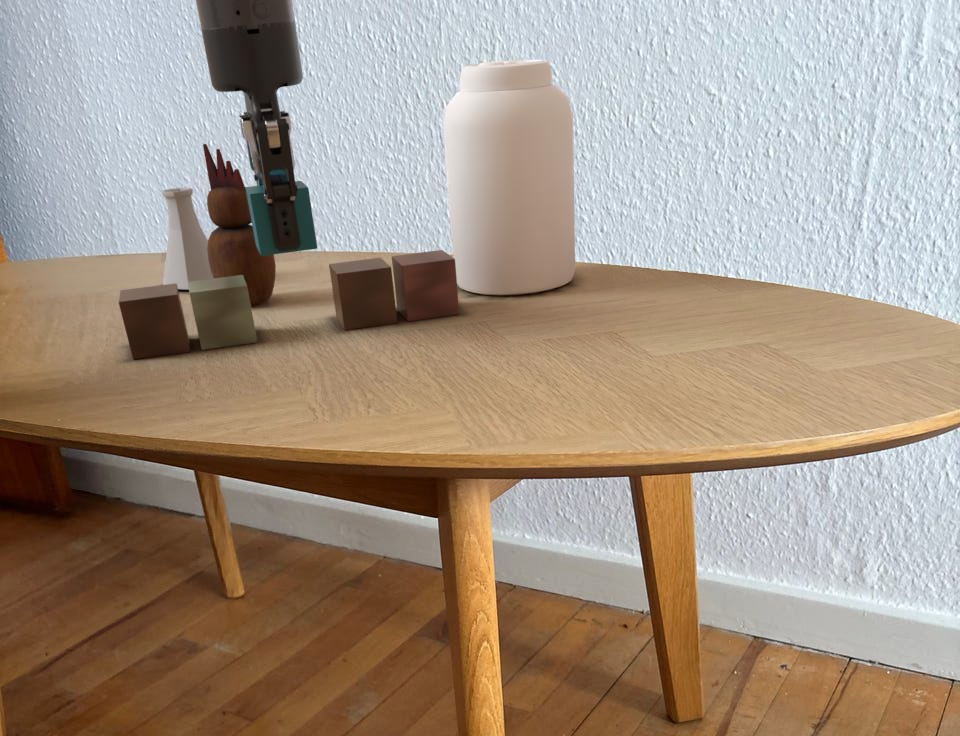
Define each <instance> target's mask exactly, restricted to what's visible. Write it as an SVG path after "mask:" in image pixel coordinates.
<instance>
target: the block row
mask: <svg viewBox="0 0 960 736" xmlns="http://www.w3.org/2000/svg"><path fill="white" fill-rule="evenodd" d="M391 263H392V264H391V265H392V266H391V265H389V264H388V262H386V261H385V260H384V259H383V258H382V257H375V258H365V259H360V260H359V259H357V260H350V261H342V262H335V263H329V264H328V267H329V274H330V281H331V289H332V295H333V302H334V303H333V304H334V309H335V317H336V319H337V321H338V323H339V324H340V325H341V326H342V329H344V331H349V330H355V329H363V328H371V327H377V326H378V327H379V326H384V325H391V324H397V323H398V315H397V311H398V312H399V313H400V314H401V316H402V317H404V319H405V320H406V321H407V322H413V321H420V320H427V319H429V320H430V319H435V318H442V317H450V316H457V315H460V309H459V308H460V306H459V305H460V304H459V291H458V284H457V278H456V265H455V259H454V258H453V256H451V255H450V254H448V253H447V252H446V251H444V250H443V249H438V250H431V251H422V252H414V253H406V254H397V255H392V256H391ZM188 286H189V289H188V293H189V298H190V302H191V307H192V313H193V317H194V322H195V326H196V330H197V335H198V339H199V343H200V348H201V350H202V351H206V350H214V349H219V348H226V347H233V346H235V347H236V346H241V345H248V344H255V343H256V344H257V343H258V337H257V332H256V326H255V322H254V321H255V320H254V315H253V311H252V310H253V309H252V306H251V304H250V299H249V293H248V288H247V284H246V282H245V279H244V276H243V275H238V276H230V277H222V278H214V279H206V280H198V281H190V282H188ZM118 306H119V309H120V314H121V318H122V321H123V325H124V330H125V334H126V338H127V342H128V345H129V350H130V353H131V357H132V360H140V359H148V358H155V357H163V356H169V355H176V354H182V353H190V352H191V347H190V345H191V344H190V338H189V333H188V328H187V323H186V319H185V313H184V310H183V309H184V308H183V306H182V300H181V296H180V292H179V289H178V287H177V283H174V284H167V285H163V284H160V285H151V286H144V287H135V288H127V289H120V291H119V297H118Z"/></svg>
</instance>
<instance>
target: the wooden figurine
mask: <svg viewBox="0 0 960 736" xmlns="http://www.w3.org/2000/svg"><path fill="white" fill-rule="evenodd" d="M202 147H203V154H204V159H205V165H206V172H207V177H208V183H209V189H210V190H209V191H208V193H207V197H206V206H207V213H208V215H209V219H210V221H211V222H212V224H214V225H215V226H216V228H215V229H214V230H212V231H211V232H210V235H209V238H207V240H208V248H207V251H208V260H209V265H210V269H211V272H212V275H213V278H222V277H230V276H238V275H243V276H244V279H245V282H246V284H247V288H248V293H249V299H250V304H251V307H254V306H259V305H261V304H263V303H265V302H267V301H268V300H269V299H270V298H271V297H272V296H273V293H274V288H275V283H276V282H275V281H276V273H277V272H276V270H277V269H276V267H277V266H276V260H275V254H273V255H265V256H261V255H260V253H259V251H258V249H257V247H256V243H255V237H254V232H253V226H252V221H251V215H250V210H249V204H248V199H247V194H246V187H247V186H245V184H244V181H243V178H242V174H241V172H240V170H239V168H236V169H234V168H233V165H232V162H231V161H230V160H227V161H225V162H224V158H223V155H222V151H221V149H220V148H216V151H215V152H216V163H215V161H214V158H213V156H212V154H211V152H210V148H209V146H208V145H207V143H203V144H202Z"/></svg>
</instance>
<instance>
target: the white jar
mask: <svg viewBox="0 0 960 736" xmlns="http://www.w3.org/2000/svg"><path fill="white" fill-rule="evenodd" d="M459 87H460V88H459V90H460V91H458V92H456V93H455V94H454V96H453V97H452V99H450V101H449V102H448V104H446V106H445V110H444V116H443V123H442V132H443V143H444V158H445V169H446V183H447V195H448V209H449V221H450V222H449V223H450V235H451V248H452V257H453V258H454V259H455V265H456V278H457V286H458V287H459V288H460V289H461V290H464V291H467V292H470V293H474V294H479V295H484V296H519V295H520V296H521V295H530V294H536V293H537V294H538V293H541V292H547V291H550V290H554V289H556V288H557V289H558V288H560V287H562V286H566V284H568V283H570V282H571V281H573V278H574V274H575V272H576V224H575V223H576V217H575V212H576V211H575V154H574V153H575V152H574V147H575V146H574V114H573V110H572V106H571V103H570V99H569V98H570V97H568V96H567V94H565V93H564V91H562V89H561V88H559V87H558V86H557V85H556V84H553V70H552V68H551V65H550V62H549V61H547V60H545V59H522V60H515V59H512V60H496V61H485V62H480V63H474V64H468V65H466V66H464V67H462V68H461V72H460V75H459Z"/></svg>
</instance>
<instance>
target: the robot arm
mask: <svg viewBox="0 0 960 736" xmlns="http://www.w3.org/2000/svg"><path fill="white" fill-rule="evenodd" d="M195 3H196V9H197V15H198V19H199V24H200V30H201V35H202V36H201V37H202V40H203V46H204V51H205V57H206V63H207V67H208V73H209V77H210V83H211V86H212V88H213V89H214V90H215V91H217V92H220V93H233V92H234V93H235V92H242V93H243V95H244V96H243V97H244V102H245V110H246V111H244V112H243V114H240V115H239V114H238V121H239V127H240V132H241V134H242V137H243V139H244V140H245V144H246V152H247V158H248V163H249V167H250V169H251V171H253V172H254V174H253V180H254V181H255V182H256V186H260V185H263V188H264V193H265V194H263V195H264V200H266V203H267V205H268V209H269V215H270V221H271V227H272V232H273V238H274V244H275V247H276V248H277V249H278V250H279V251H285V250H293V249H298V248H299V247H300V245H301V242H300V236H299V229H298V223H297V217H296V211H295V204H294V201H296V199H295V197H296V196H297V192H296V191H298V189H297V185H296V184H295V181H296V178H295V168H296V161H295V155H294V150H293V144H292V139H291V135H292V124H291V117H290V114H289V112H287V111H286V110H281V109H280V104H279V98H278V95H277V93H278V90H279V89H280V88H285V87H292V86H297V85H300V84H301V83H302V81H303V80H304V79H303V78H304V74H303V67H302V59H301V54H300V46H299V40H298V31H297V26H296V20H295V19H296V18H295V13H294V7H293V0H195ZM269 204H270V205H269Z"/></svg>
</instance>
